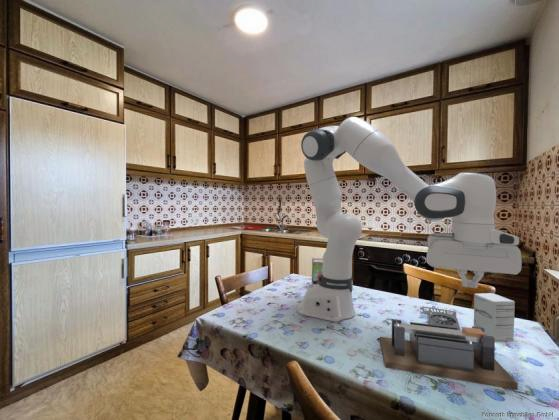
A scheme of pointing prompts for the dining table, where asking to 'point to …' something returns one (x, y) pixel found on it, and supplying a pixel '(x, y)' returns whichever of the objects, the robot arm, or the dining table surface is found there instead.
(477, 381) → the heatsink board
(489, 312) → the supplement box
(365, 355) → the dining table surface
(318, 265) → the tea box
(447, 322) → the graphics card
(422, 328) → the bar
